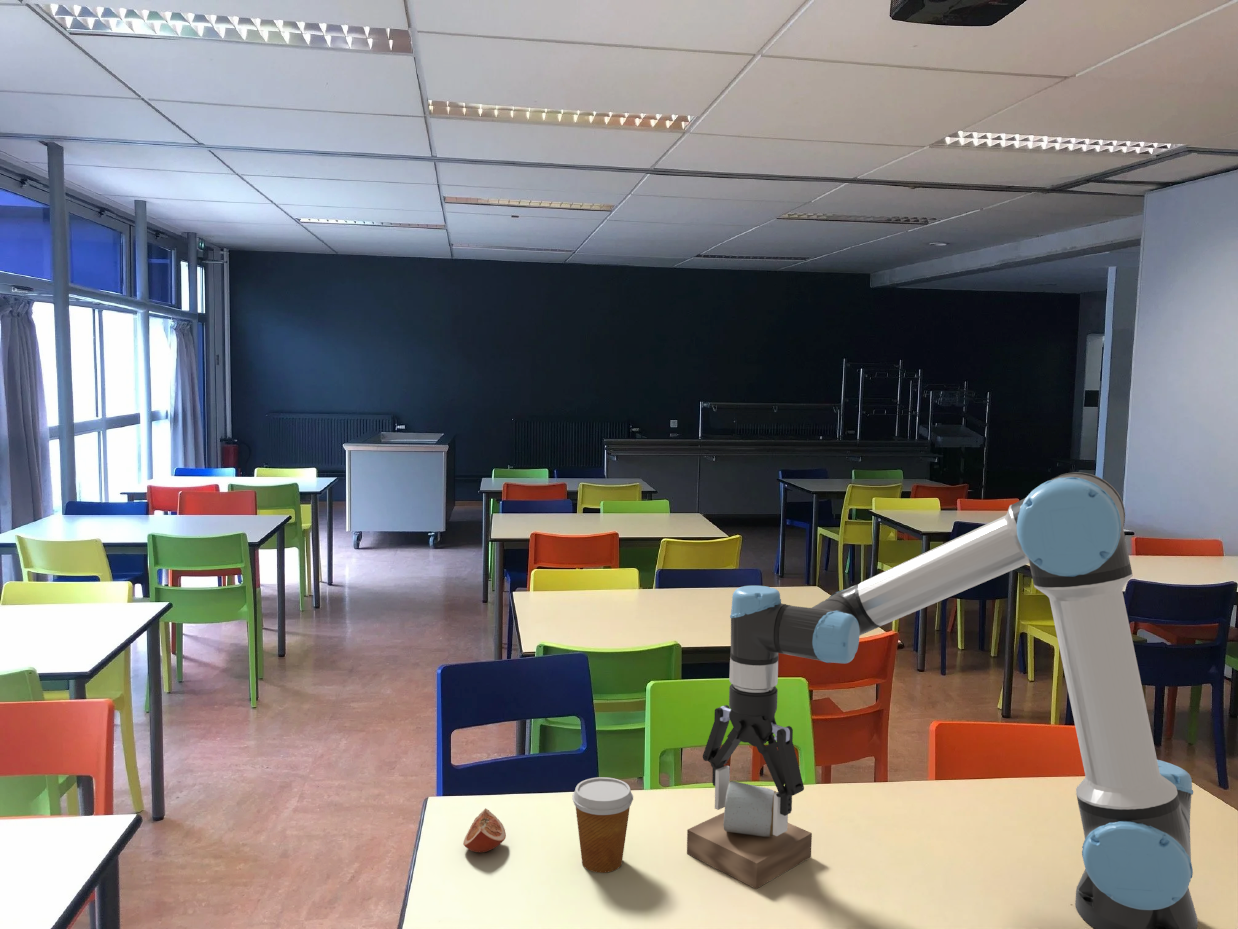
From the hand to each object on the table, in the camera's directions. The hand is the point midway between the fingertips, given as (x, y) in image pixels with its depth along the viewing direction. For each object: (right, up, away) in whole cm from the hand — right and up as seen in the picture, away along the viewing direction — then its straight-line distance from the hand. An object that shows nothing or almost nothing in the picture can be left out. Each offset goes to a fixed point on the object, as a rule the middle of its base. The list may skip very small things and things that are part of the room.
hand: (750, 819), depth 147 cm
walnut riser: (0, -6, +1) cm, 6 cm away
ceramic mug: (0, -2, +1) cm, 2 cm away
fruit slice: (-43, -6, +2) cm, 43 cm away
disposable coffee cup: (-24, -6, -2) cm, 24 cm away
